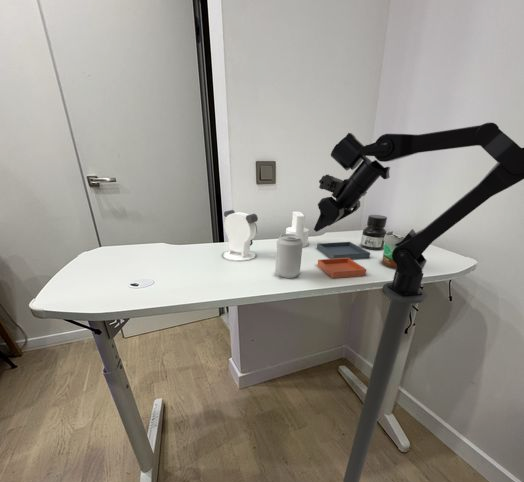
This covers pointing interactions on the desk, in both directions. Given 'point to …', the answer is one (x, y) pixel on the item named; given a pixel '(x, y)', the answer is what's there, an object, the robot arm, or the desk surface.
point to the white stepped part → (299, 227)
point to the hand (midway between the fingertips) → (321, 227)
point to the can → (288, 255)
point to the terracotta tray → (341, 267)
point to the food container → (390, 249)
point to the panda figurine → (240, 235)
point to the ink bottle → (374, 232)
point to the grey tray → (342, 250)
